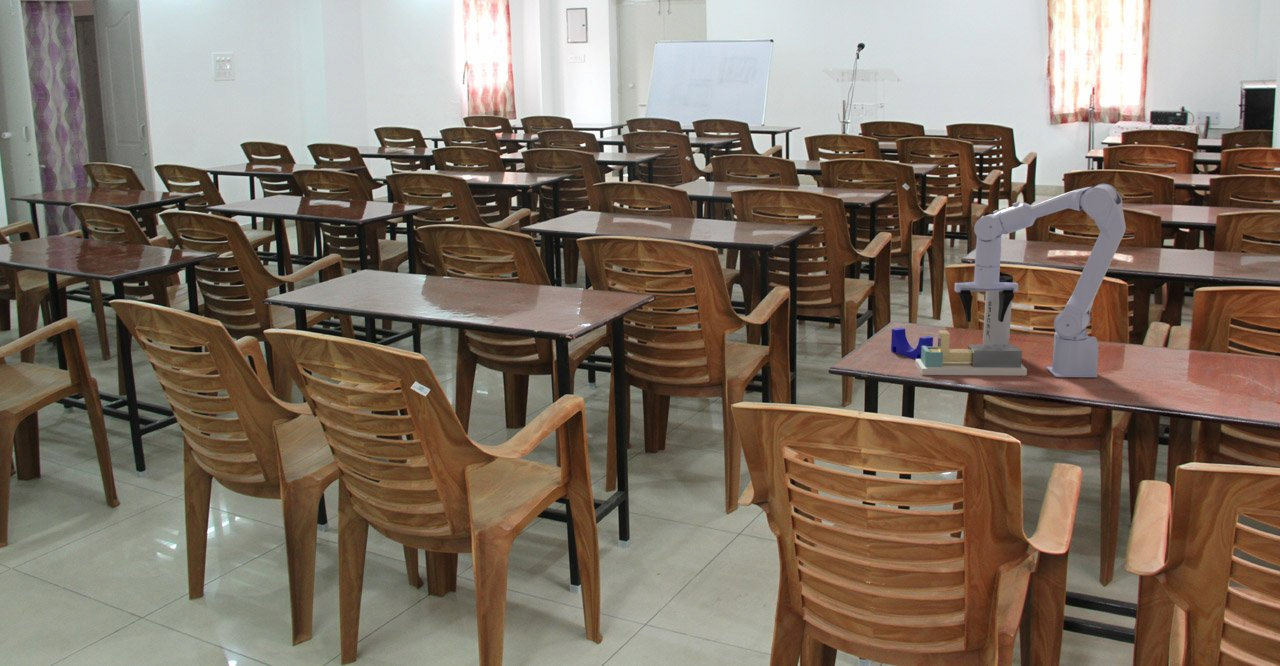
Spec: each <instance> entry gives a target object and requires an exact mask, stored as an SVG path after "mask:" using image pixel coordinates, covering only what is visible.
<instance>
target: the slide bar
mask: <svg viewBox="0 0 1280 666" xmlns="http://www.w3.org/2000/svg"><path fill="white" fill-rule="evenodd" d="M937 332H938V333H937V347H938V349H929V351H930V352H943V363H972V361H973V351H972V350H971V349H968V348H950V344H951V343H950V341H951V334H950V332H949V331H948V330H938V331H937Z"/></svg>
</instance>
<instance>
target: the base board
mask: <svg viewBox="0 0 1280 666" xmlns="http://www.w3.org/2000/svg"><path fill="white" fill-rule="evenodd" d="M914 360H915V363H914V365H915V367H916V369H917V370H918V371H919V373H920V375H921V376H1024V377H1025V376H1027V375H1028V369H1027V367H1025V366H1024V365H1023V364H1022V363H1021V368H1008V367H972V366H971V364H970V363H943V364H942V367H925V366H924V365H923V363H922V362H921V359H914Z"/></svg>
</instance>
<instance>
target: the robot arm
mask: <svg viewBox="0 0 1280 666" xmlns="http://www.w3.org/2000/svg"><path fill="white" fill-rule="evenodd" d="M1067 209H1071V210H1075V211H1078V212H1080V211H1082V210H1083V211H1084V212H1085V213H1086V214H1087V215H1088V216H1089V217H1090V218H1091V220H1093V221H1094V222H1095V225H1096V227H1097V228H1098V231H1099V234H1098V237H1097V238H1096V241H1095V244H1094V246H1093V247H1092V250H1091V252H1090V254H1089V255H1088V259H1087V260H1086V263H1085V264H1084V268H1083V270H1082V272H1081V274H1080V277H1078V281H1077V283H1076V285H1075V288H1074V290H1073V292H1072V294H1071V296H1070V298H1069V300H1068V301H1067V302H1066V304H1065V307H1064V309H1063V310H1062V311H1061V312H1060V313H1059V314H1057V315H1056V316H1055V318H1054V320H1053V328H1054V330H1055V332H1054V335H1053V336H1054V337H1053V348H1052V349H1053V351H1052V352H1053V353H1052V364H1051V366H1045V369H1046V370H1048V371H1049V372H1050V373H1051V374H1052V375H1053V376H1054V377H1055V378H1098V374H1097V372H1098V361H1099V343H1098V339H1097V337H1095V336H1089V335H1088V333H1087V330H1086V328H1087V327H1088V326H1089V325H1090V323H1091V310H1092V307H1093V305H1094V300H1095V298H1096V296H1097V293H1098V291H1099V289H1100V288H1101V285H1102V283H1103V281H1104V279H1105V277H1106V274H1107V271H1108V269H1109V267H1110V265H1111V263H1112V260H1113V258H1114V257H1115V254H1116V252H1117V250H1118V248H1119V245H1120V244H1121V242H1122V240H1123V237H1124V234H1125V233H1126V228H1127V226H1126V221H1125V215H1124V208H1123V198H1122V197H1121V195H1120V194H1119V192H1118V190H1117V189H1116V188H1115V187H1114V186H1113V185H1111V184H1108V183H1100V184H1097V185H1095V186H1093V187H1092V186H1087V187H1083V188H1077V189H1074V190H1071V191H1068V192H1065V193H1061V194H1059V195H1057V196H1054V197H1052V198H1050V199H1046V200H1044V201H1041V202H1038V203H1036V204H1033V205H1032V204H1029V203H1027V202H1021V203H1020V201H1017V202H1014V203H1012V206H1010V207H1007V208H1004V209H1001V210H1000V209H996V210H994V211H992V213H991V214H987V215H983V216H982V217H979V219H977V220H976V222H975V223H974V226H973V227H974V228H973V232H974V234H975V236H976V245H975V254H974V255H975V257H974V258H975V259H974V273H973V274H974V277H973V281H967V282H954V292H956V293H957V294H958V296H959V298H960V300H961V301H960V302H961V304H962V306H963V309H964V310H963V311H964V316H965V321H966V322H967V323H970V322H971V320H972V305H973V304H972V303H973V295H972V292H974V293H975V292H978V293H979V292H984V293H986V291H999V312H998V320H999V321H1000V322H1003V320H1004V316H1005V313H1006V310H1007V308H1008V306H1009V304H1010V302H1011V301H1013V299H1014V298H1015V293H1018V292H1019V283H1017V282H1013V283H1009V282H999V274H1000V272H1001V253H1002V235H1008V234H1011V233H1015V232H1017V231H1021V230H1023V229H1026V228H1029V227H1032V226H1033V225H1034V223H1035V221H1036V220H1037V219H1038V218H1041V217H1045V216H1048V215H1051V214H1054V213H1057V212H1060V211H1063V210H1067Z"/></svg>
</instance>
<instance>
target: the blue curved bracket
mask: <svg viewBox="0 0 1280 666" xmlns="http://www.w3.org/2000/svg"><path fill="white" fill-rule="evenodd" d="M918 338H919V339H918V344H917V346H916V348H914V347H912V346H911V345H910V343H909V341H908V338H907V335H906V328H904V327H896V328H891V342H890V343H891V345H890V347H891V348H890V352H892V353H895V354H897V355H901V356H904V357H907V358H910V359H913V360H915V359H921V348H922V346H926V347H934V346H933V345H934V336H930V335H928V336H926V335H925V336H921V337H918Z"/></svg>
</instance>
